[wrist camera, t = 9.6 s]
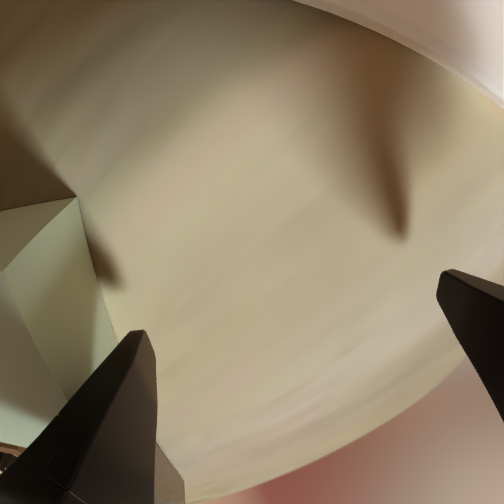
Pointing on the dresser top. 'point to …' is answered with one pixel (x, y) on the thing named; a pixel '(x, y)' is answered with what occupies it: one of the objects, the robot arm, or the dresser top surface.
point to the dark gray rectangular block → (167, 481)
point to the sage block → (46, 316)
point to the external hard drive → (439, 33)
